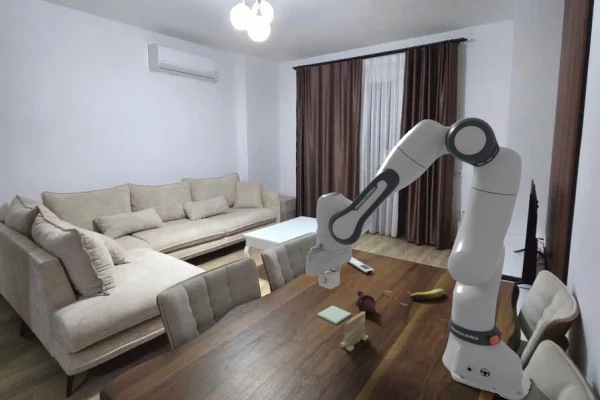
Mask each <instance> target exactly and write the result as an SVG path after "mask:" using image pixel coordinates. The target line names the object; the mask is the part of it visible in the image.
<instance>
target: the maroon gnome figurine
mask: <svg viewBox="0 0 600 400" xmlns="http://www.w3.org/2000/svg"><path fill="white" fill-rule="evenodd" d="M357 296H358V297H357V299H356V300H355V305H357V307H358V310H359V311H360V312H362V311H363V312H365V314H366V313H370V312H374V313H376V312H377V309H376V304H377V303H376V301H375V299H374V297H373V296H370V295H369V294H364V292H363V291H362V290H358V291H357Z"/></svg>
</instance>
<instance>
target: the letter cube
mask: <svg viewBox="0 0 600 400" xmlns="http://www.w3.org/2000/svg"><path fill="white" fill-rule="evenodd" d="M324 277H325V278H327V283H325V284H321V283H320V278H319V277H318V286H320V287H322V288H326V289H327V290H332V289H335V288H336V287H339V286H340V284H341V270H340V271H339V270H336V269H335V268H333V269H331V270H329V271H326V272H325V275H324Z"/></svg>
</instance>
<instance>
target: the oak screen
mask: <svg viewBox="0 0 600 400" xmlns="http://www.w3.org/2000/svg"><path fill="white" fill-rule="evenodd" d="M361 340H362V341H364V342H366V341H367V340H369V335H367V334H366V313H365V312H363V311H360V312H358V313H357V314H356V315H354V316H353V317H350V319H347V320H345V321H344V322H343V341H342V342H340V344H339V346H340V348H342V349H345V350H346V351H348V352H349V353H350V352H353V350H354V349H355V345H356V344H357V343H358V342H360V341H361Z"/></svg>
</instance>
